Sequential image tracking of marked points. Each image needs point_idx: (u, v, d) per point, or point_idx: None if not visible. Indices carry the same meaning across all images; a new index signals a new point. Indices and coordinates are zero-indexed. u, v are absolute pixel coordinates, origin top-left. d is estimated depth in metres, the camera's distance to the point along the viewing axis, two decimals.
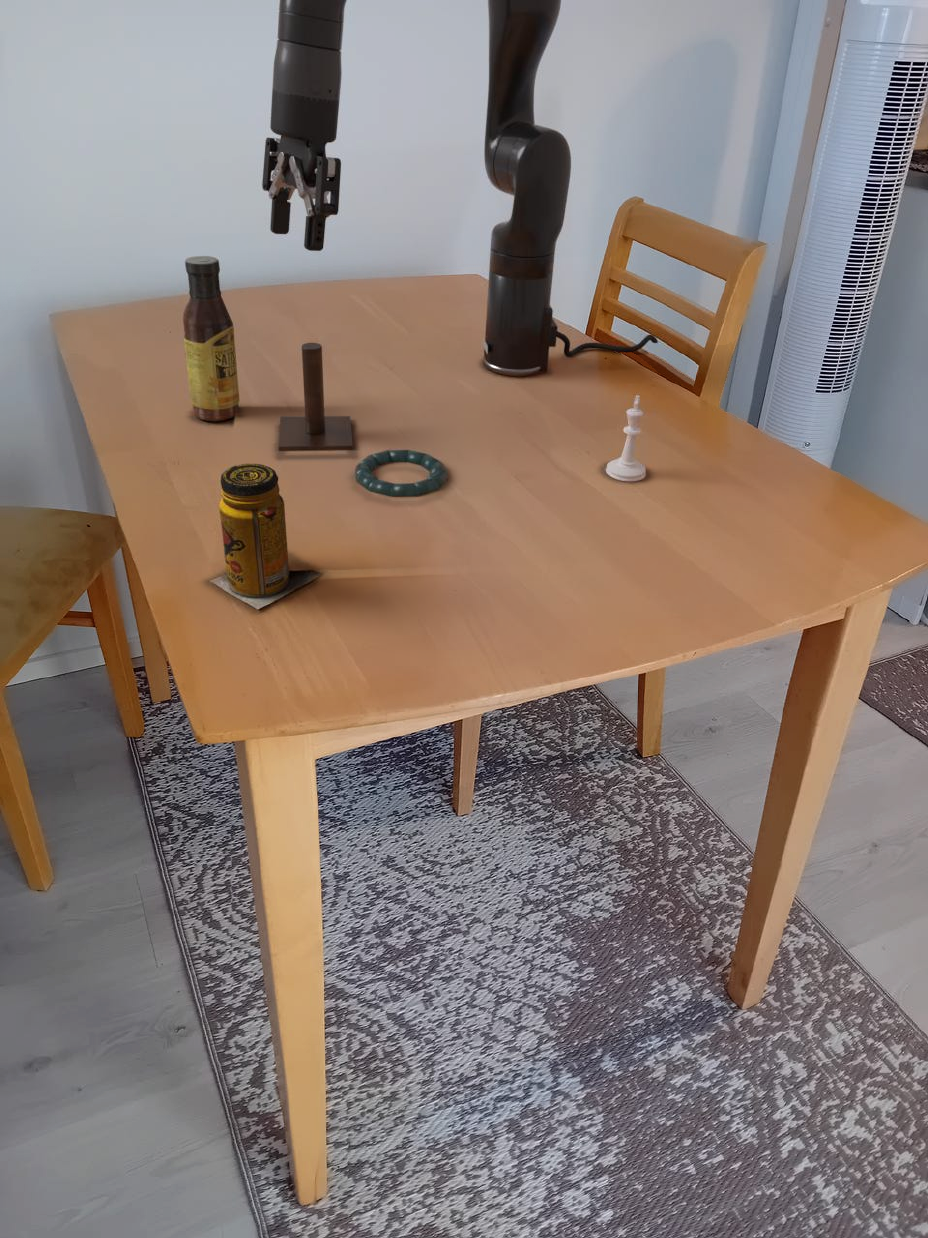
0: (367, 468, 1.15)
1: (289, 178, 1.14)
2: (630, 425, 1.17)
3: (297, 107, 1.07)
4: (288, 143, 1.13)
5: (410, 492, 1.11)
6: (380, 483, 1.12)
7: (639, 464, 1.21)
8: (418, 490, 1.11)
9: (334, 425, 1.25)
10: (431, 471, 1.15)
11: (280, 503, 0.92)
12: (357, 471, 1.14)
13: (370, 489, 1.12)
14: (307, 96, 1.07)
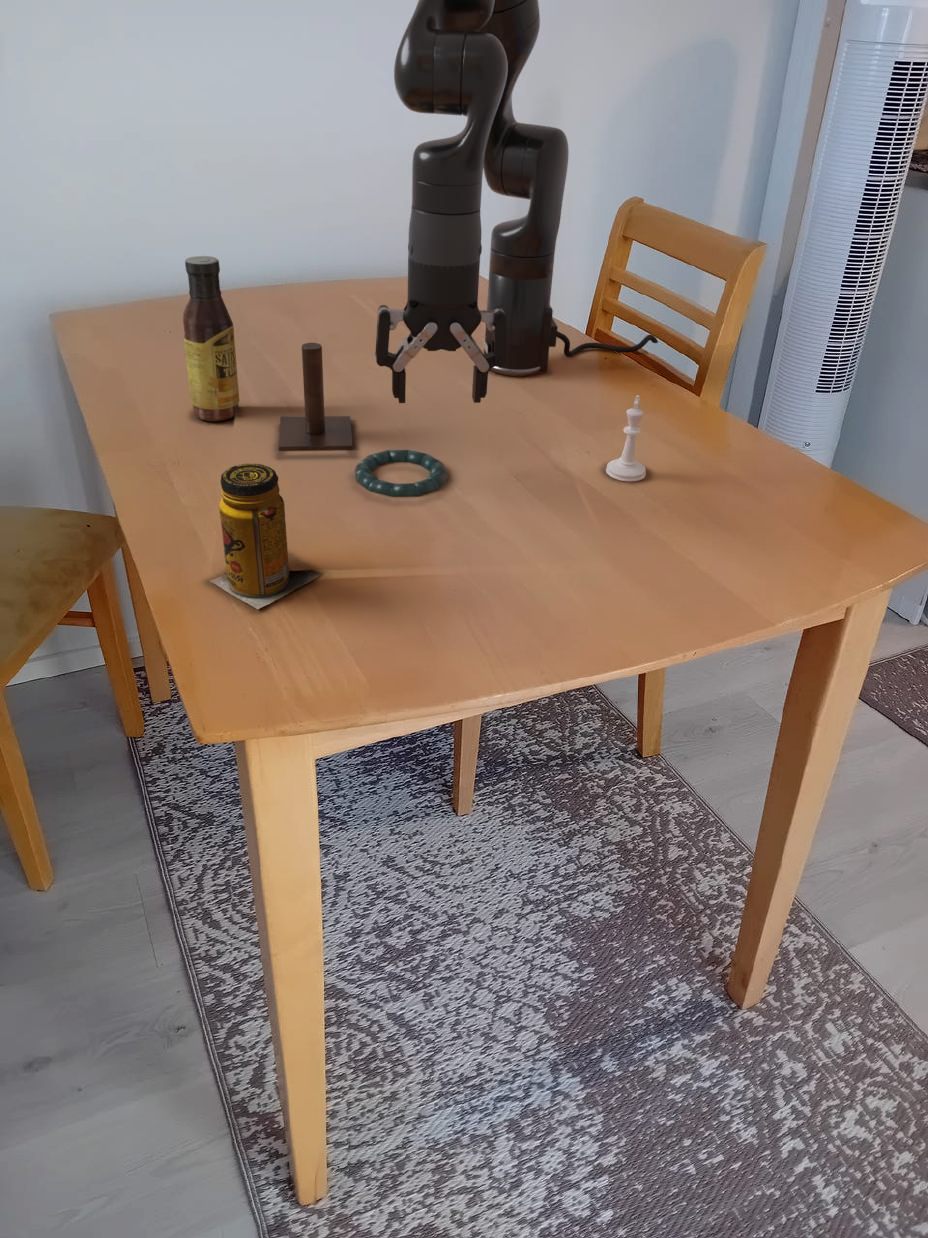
0: (367, 468, 1.15)
1: (437, 344, 1.06)
2: (630, 425, 1.17)
3: (473, 274, 1.01)
4: (430, 310, 1.04)
5: (410, 492, 1.11)
6: (380, 483, 1.12)
7: (639, 464, 1.21)
8: (418, 490, 1.11)
9: (334, 425, 1.25)
10: (431, 471, 1.15)
11: (280, 503, 0.92)
12: (357, 471, 1.14)
13: (370, 489, 1.12)
14: (478, 260, 1.01)
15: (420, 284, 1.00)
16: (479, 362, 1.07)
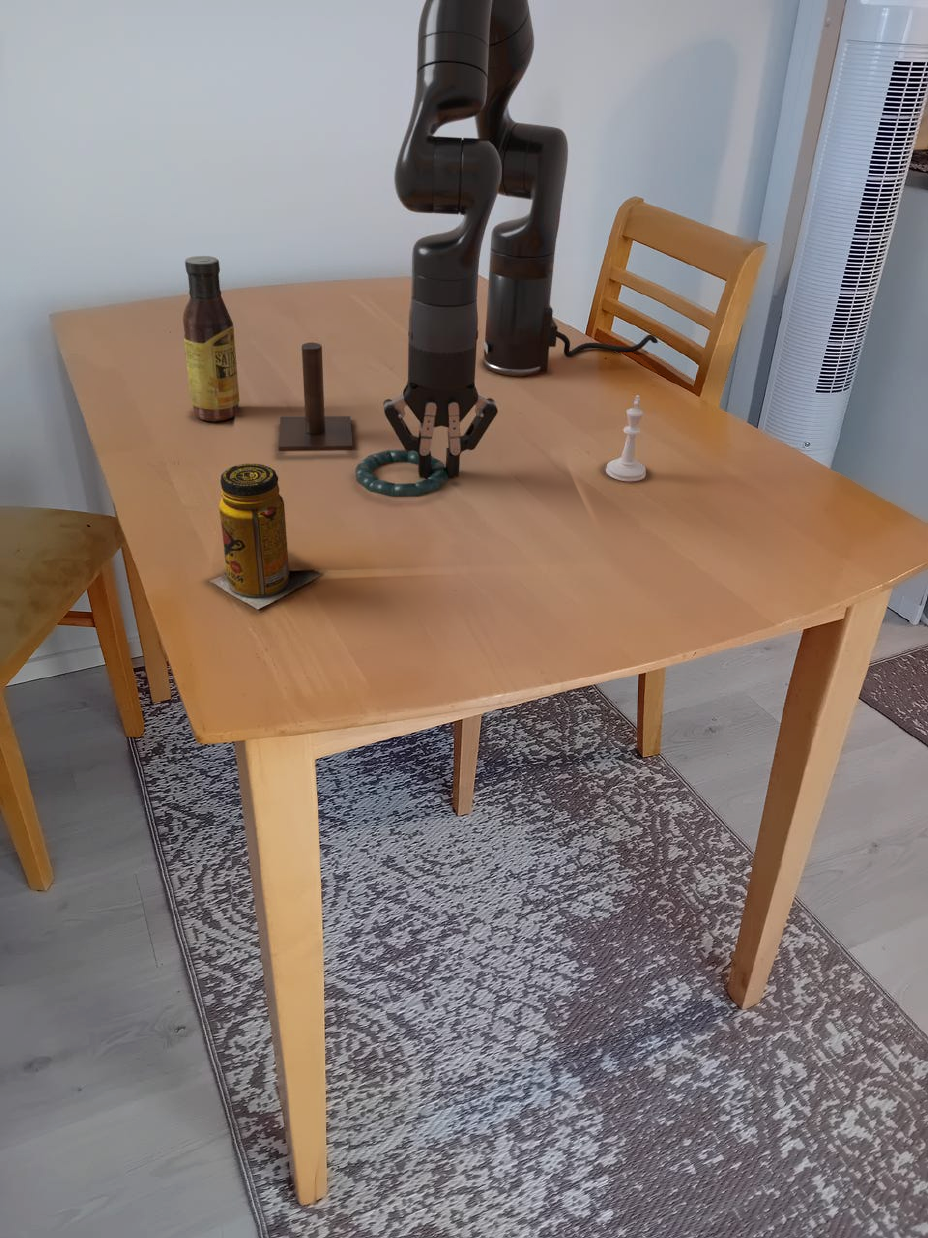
0: (368, 468, 1.15)
1: (436, 421, 1.11)
2: (630, 425, 1.17)
3: (470, 359, 1.06)
4: (430, 391, 1.09)
5: (410, 492, 1.11)
6: (381, 483, 1.12)
7: (639, 464, 1.21)
8: (418, 490, 1.11)
9: (334, 425, 1.25)
10: (432, 471, 1.15)
11: (280, 503, 0.92)
12: (358, 471, 1.14)
13: (371, 489, 1.12)
14: (474, 345, 1.06)
15: (420, 368, 1.06)
16: (454, 445, 1.13)
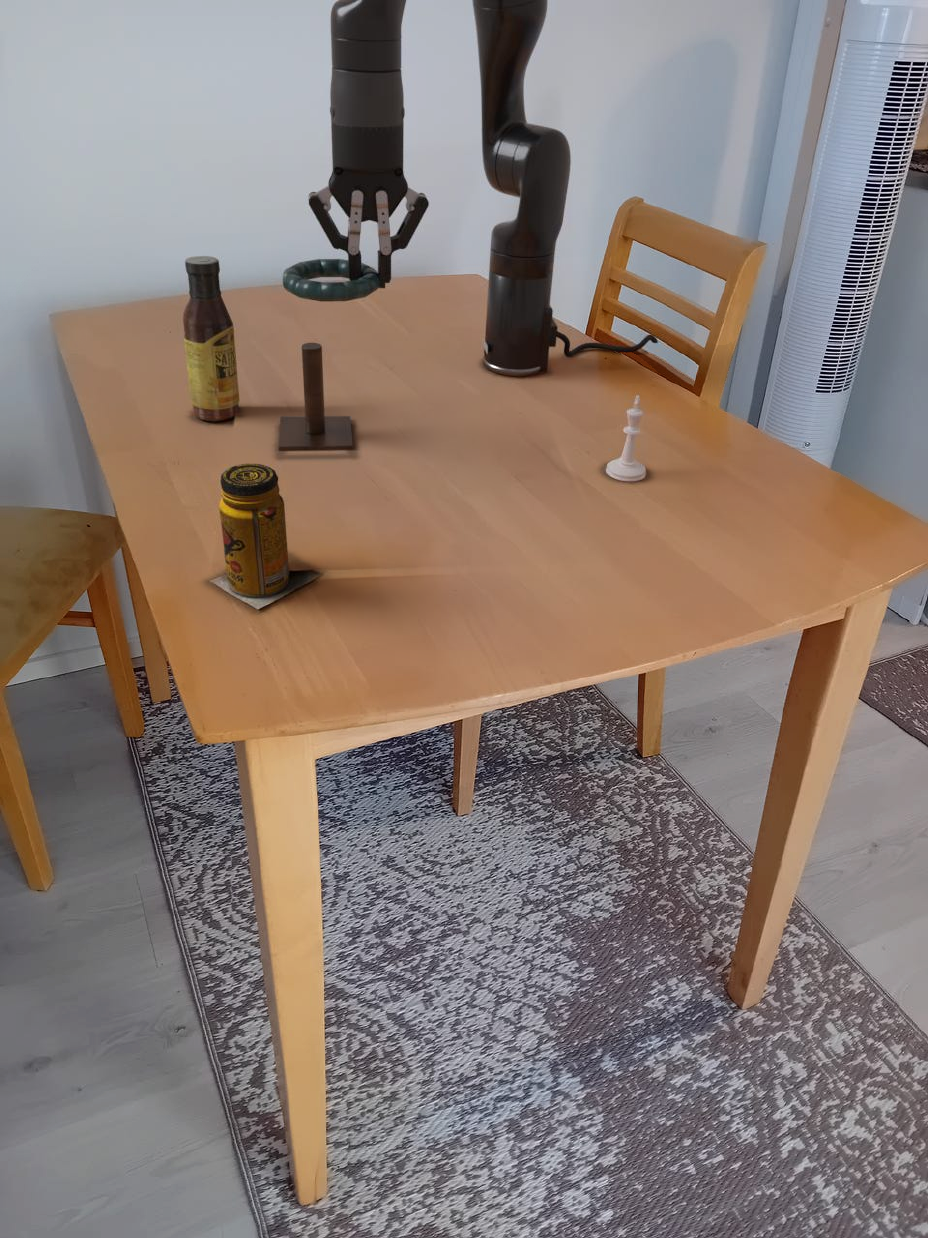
0: (295, 271, 1.09)
1: (364, 214, 1.06)
2: (630, 425, 1.17)
3: (396, 138, 1.00)
4: (356, 178, 1.03)
5: (338, 290, 1.06)
6: (307, 282, 1.06)
7: (639, 464, 1.21)
8: (347, 288, 1.06)
9: (334, 425, 1.25)
10: (362, 275, 1.10)
11: (280, 503, 0.92)
12: (284, 274, 1.09)
13: (296, 288, 1.06)
14: (401, 124, 1.00)
15: (343, 148, 1.00)
16: (384, 242, 1.07)
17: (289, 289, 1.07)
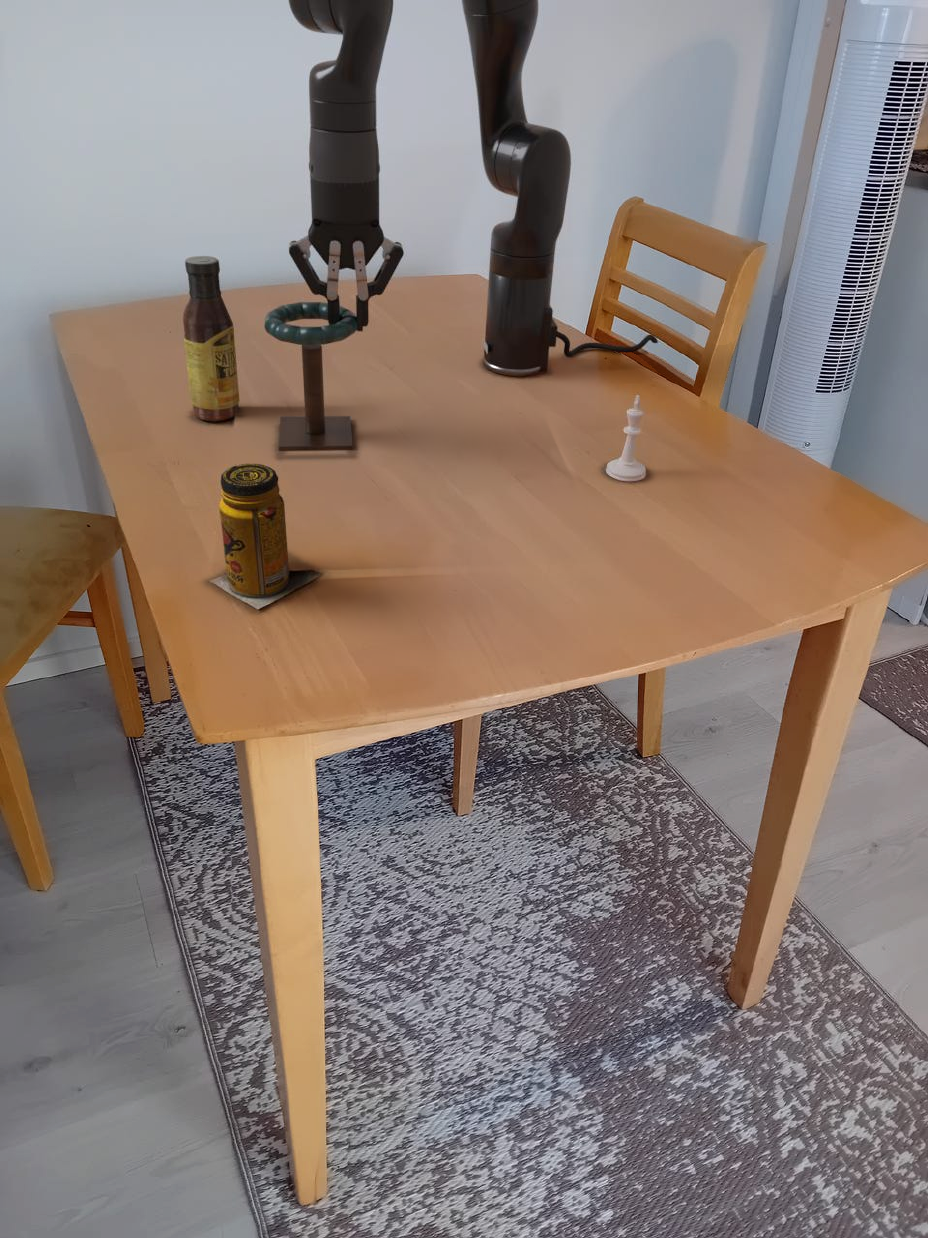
0: (276, 315, 1.14)
1: (342, 262, 1.11)
2: (630, 425, 1.17)
3: (371, 192, 1.06)
4: (334, 229, 1.09)
5: (316, 334, 1.11)
6: (287, 326, 1.11)
7: (639, 464, 1.21)
8: (324, 332, 1.11)
9: (334, 425, 1.25)
10: (341, 319, 1.15)
11: (280, 503, 0.92)
12: (266, 318, 1.14)
13: (277, 332, 1.12)
14: (376, 179, 1.06)
15: (321, 202, 1.05)
16: (361, 289, 1.13)
17: (270, 332, 1.13)
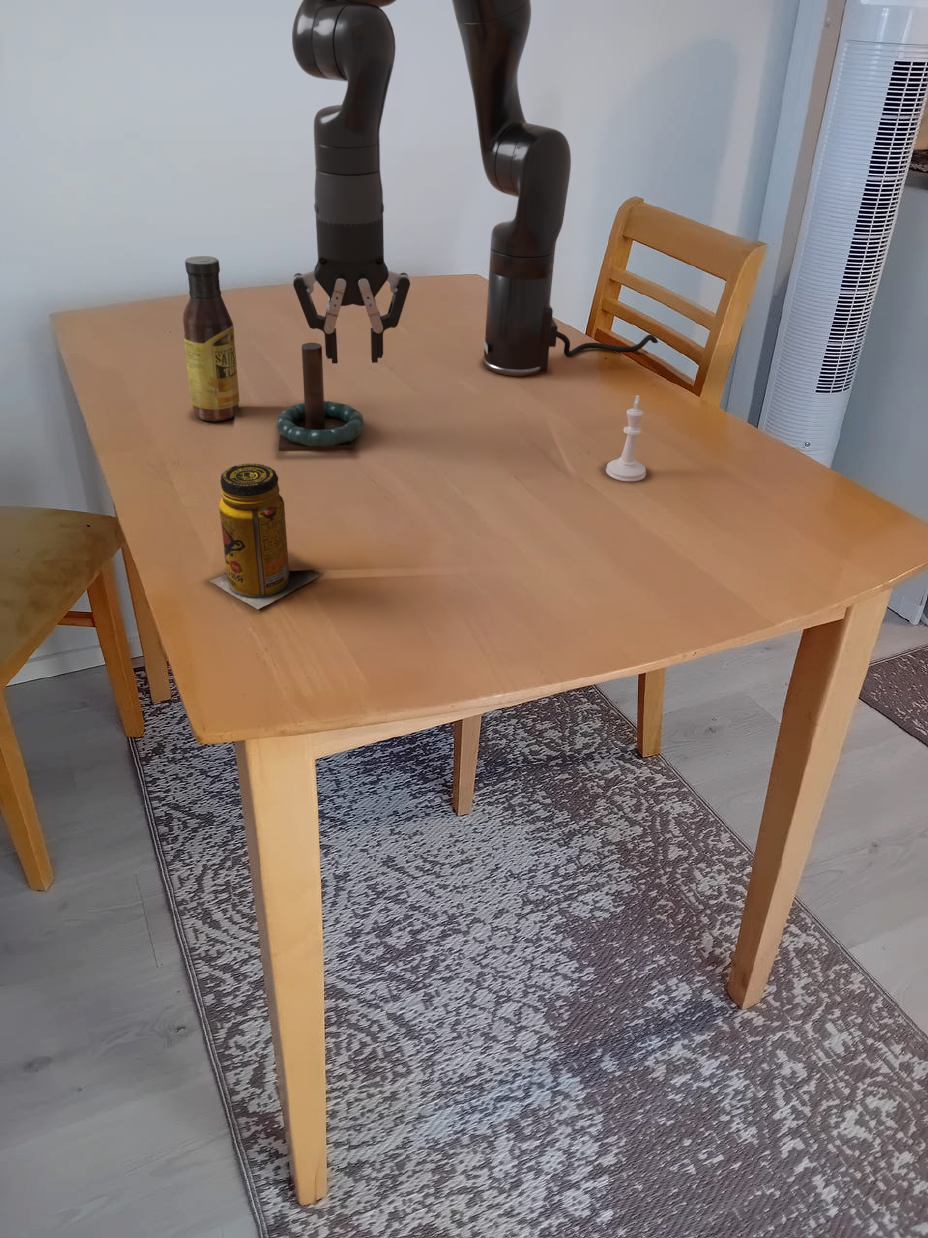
0: (288, 416, 1.22)
1: (348, 299, 1.13)
2: (630, 425, 1.17)
3: (376, 232, 1.08)
4: (339, 267, 1.11)
5: (326, 437, 1.18)
6: (298, 429, 1.19)
7: (639, 464, 1.21)
8: (334, 436, 1.19)
9: (334, 425, 1.25)
10: (349, 420, 1.23)
11: (280, 503, 0.92)
12: (278, 419, 1.22)
13: (289, 435, 1.19)
14: (380, 219, 1.08)
15: (326, 242, 1.08)
16: (375, 322, 1.15)
17: (282, 434, 1.20)
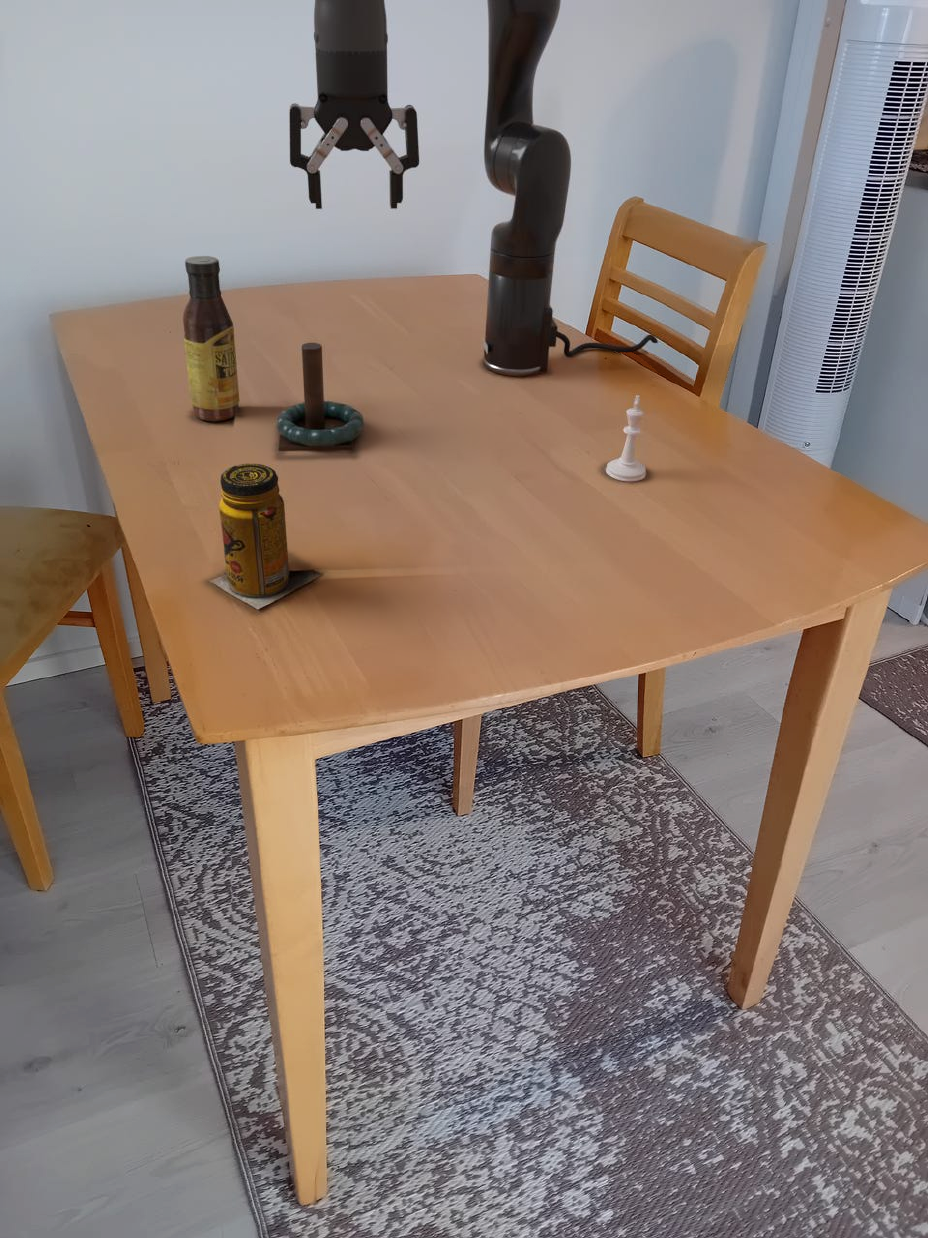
0: (288, 416, 1.22)
1: (350, 142, 1.07)
2: (630, 425, 1.17)
3: (379, 63, 1.01)
4: (340, 106, 1.04)
5: (326, 437, 1.18)
6: (298, 429, 1.19)
7: (639, 464, 1.21)
8: (334, 436, 1.19)
9: (334, 425, 1.25)
10: (349, 420, 1.23)
11: (280, 503, 0.92)
12: (278, 419, 1.22)
13: (289, 435, 1.19)
14: (384, 49, 1.01)
15: (327, 73, 1.01)
16: (393, 163, 1.08)
17: (282, 434, 1.20)
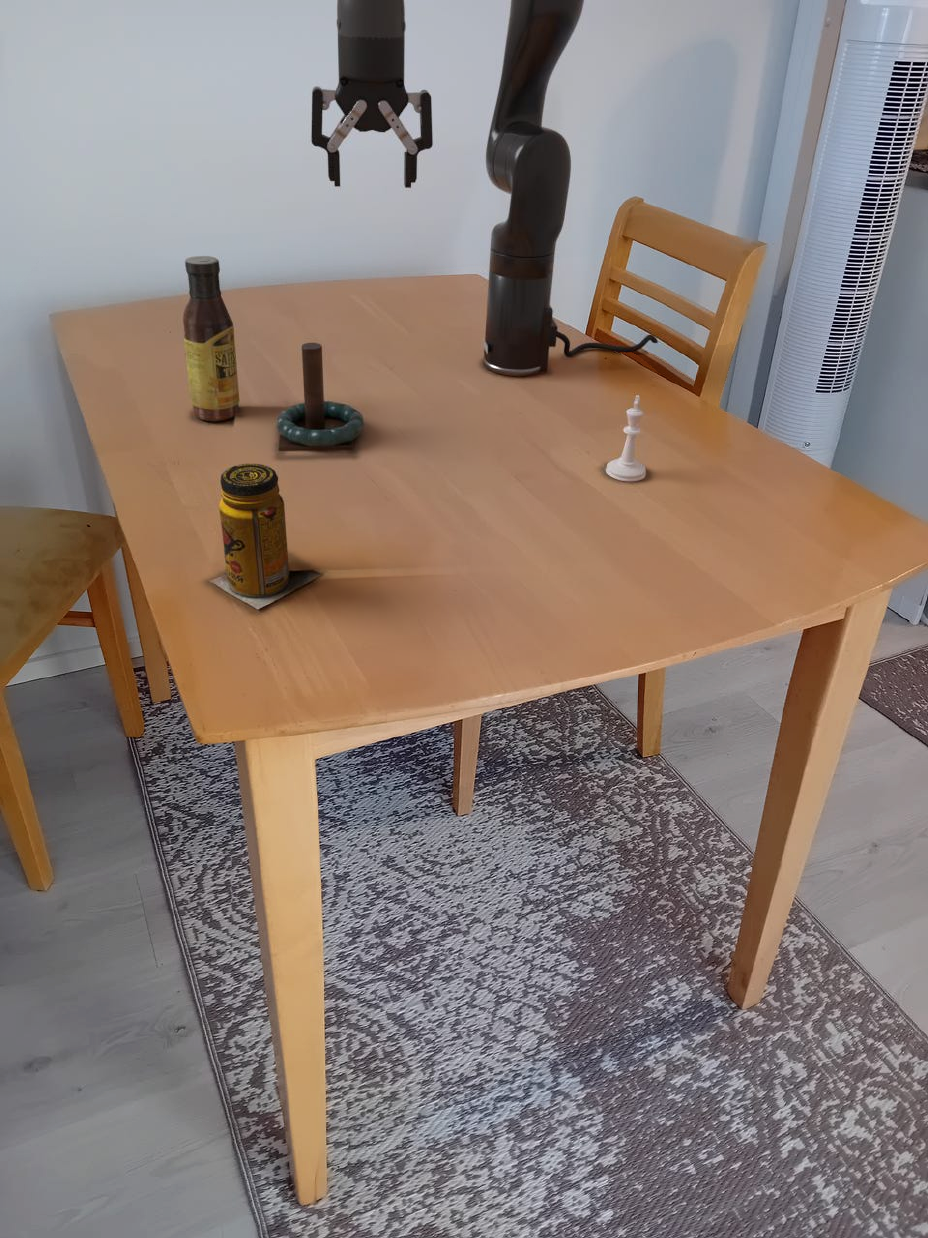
0: (288, 416, 1.22)
1: (368, 124, 1.14)
2: (630, 425, 1.17)
3: (397, 49, 1.08)
4: (360, 89, 1.11)
5: (326, 437, 1.18)
6: (298, 429, 1.19)
7: (639, 464, 1.21)
8: (334, 436, 1.19)
9: (334, 425, 1.25)
10: (349, 420, 1.23)
11: (280, 503, 0.92)
12: (278, 419, 1.22)
13: (289, 435, 1.19)
14: (402, 36, 1.09)
15: (348, 58, 1.08)
16: (408, 144, 1.15)
17: (282, 434, 1.20)
